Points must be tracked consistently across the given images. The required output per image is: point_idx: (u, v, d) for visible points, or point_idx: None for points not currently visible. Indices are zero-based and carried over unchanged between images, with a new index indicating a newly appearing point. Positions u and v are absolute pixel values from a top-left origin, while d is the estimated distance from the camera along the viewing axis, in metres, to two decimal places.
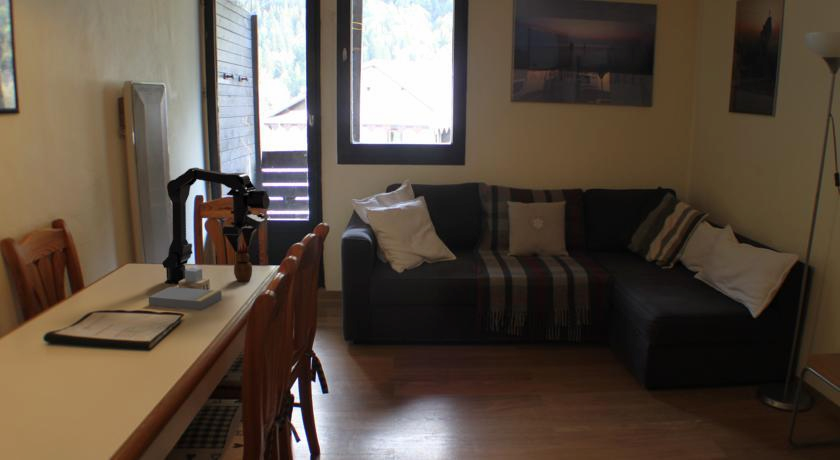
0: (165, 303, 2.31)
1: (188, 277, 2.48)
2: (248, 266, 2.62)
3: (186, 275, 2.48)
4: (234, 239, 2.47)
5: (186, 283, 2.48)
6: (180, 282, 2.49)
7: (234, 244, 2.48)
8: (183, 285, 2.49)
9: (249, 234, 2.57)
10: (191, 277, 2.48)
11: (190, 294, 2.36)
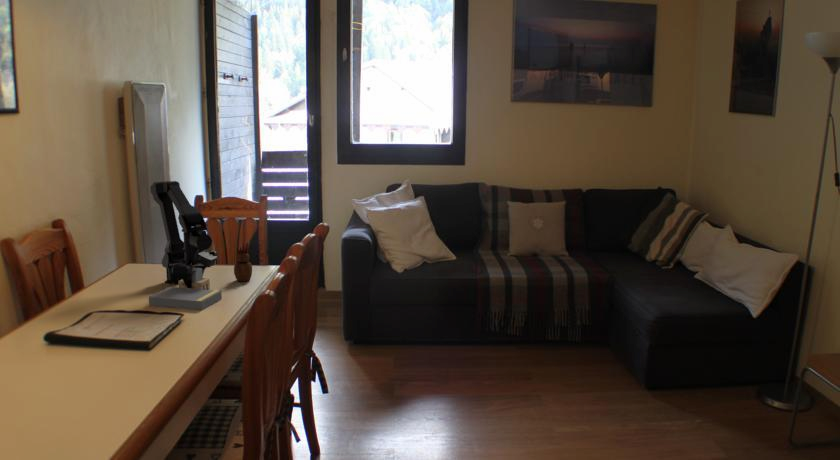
0: (165, 303, 2.31)
1: None
2: (248, 266, 2.62)
3: None
4: (187, 277, 2.46)
5: None
6: (180, 282, 2.49)
7: (187, 282, 2.46)
8: (183, 285, 2.48)
9: None
10: None
11: (190, 294, 2.36)
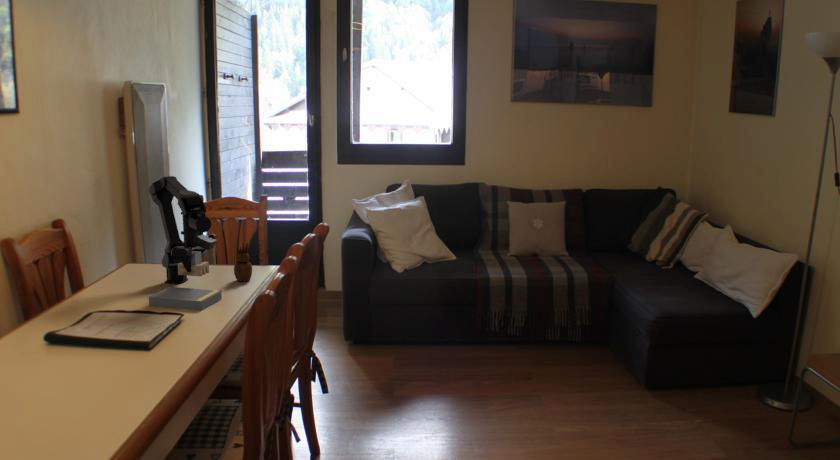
0: (165, 303, 2.31)
1: None
2: (248, 266, 2.62)
3: None
4: (186, 259, 2.45)
5: None
6: (179, 265, 2.47)
7: (186, 264, 2.45)
8: (182, 268, 2.47)
9: None
10: None
11: (190, 294, 2.36)
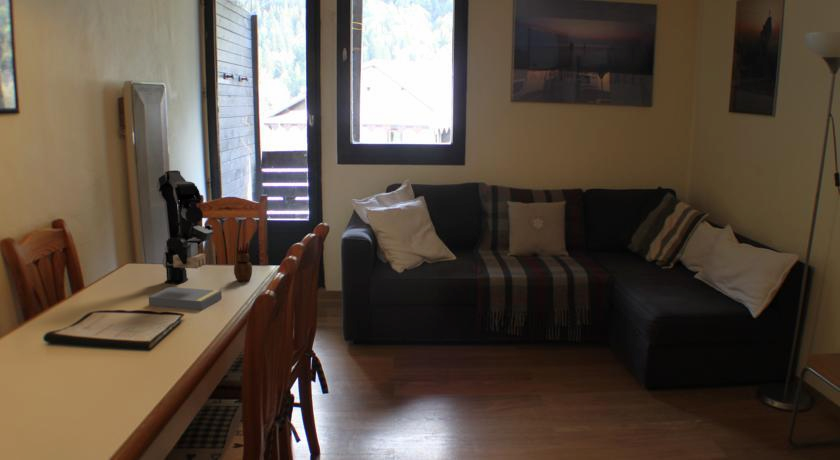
0: (165, 303, 2.31)
1: None
2: (248, 266, 2.62)
3: None
4: (182, 251, 2.37)
5: None
6: (175, 257, 2.40)
7: (182, 256, 2.38)
8: (178, 260, 2.40)
9: None
10: None
11: (190, 294, 2.36)
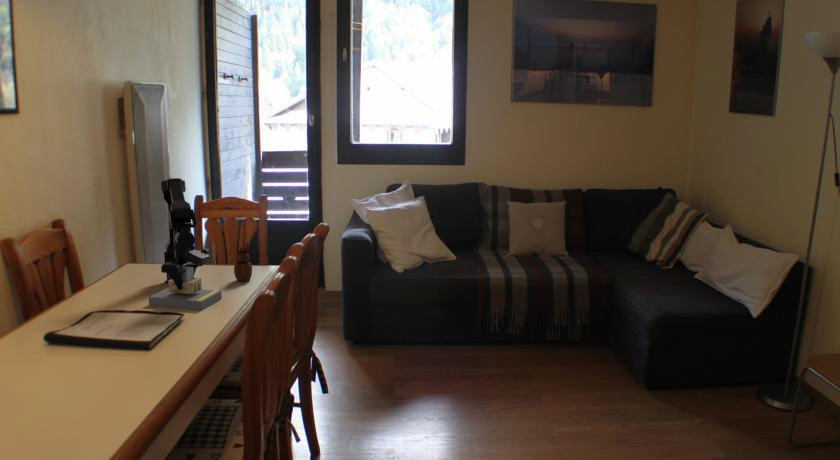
0: (165, 303, 2.31)
1: None
2: (248, 266, 2.62)
3: None
4: (177, 276, 2.31)
5: None
6: (170, 281, 2.33)
7: (177, 281, 2.31)
8: (173, 285, 2.33)
9: None
10: None
11: (190, 294, 2.36)
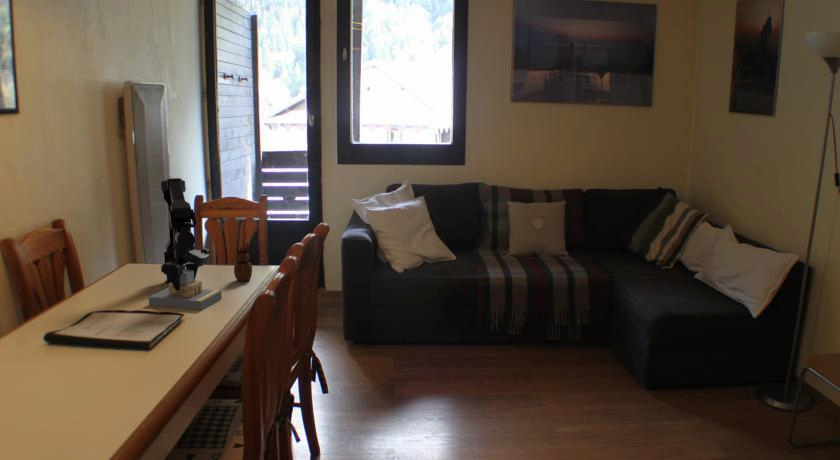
0: (165, 303, 2.31)
1: None
2: (248, 266, 2.62)
3: None
4: (175, 277, 2.29)
5: None
6: (170, 285, 2.34)
7: (175, 282, 2.30)
8: (173, 288, 2.34)
9: None
10: (182, 279, 2.33)
11: None
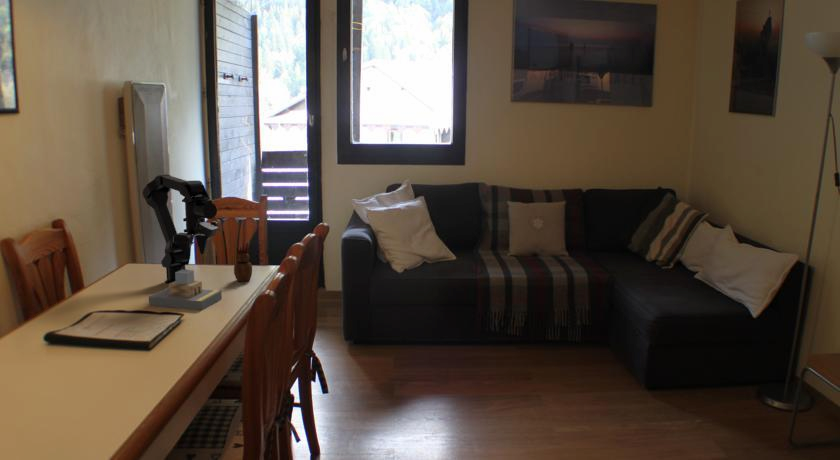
0: (165, 303, 2.31)
1: (179, 280, 2.33)
2: (248, 266, 2.62)
3: (177, 277, 2.33)
4: (186, 247, 2.46)
5: (177, 286, 2.33)
6: (170, 285, 2.34)
7: (186, 252, 2.47)
8: (173, 288, 2.34)
9: (203, 241, 2.56)
10: (182, 279, 2.33)
11: None
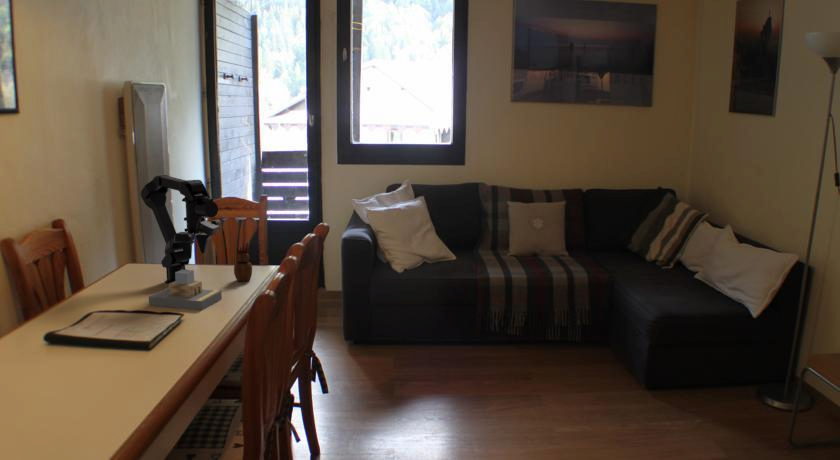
0: (165, 303, 2.31)
1: (179, 280, 2.33)
2: (248, 266, 2.62)
3: (177, 277, 2.33)
4: (187, 246, 2.47)
5: (177, 286, 2.33)
6: (170, 285, 2.34)
7: (187, 251, 2.47)
8: (173, 288, 2.34)
9: (204, 241, 2.57)
10: (182, 279, 2.33)
11: None
